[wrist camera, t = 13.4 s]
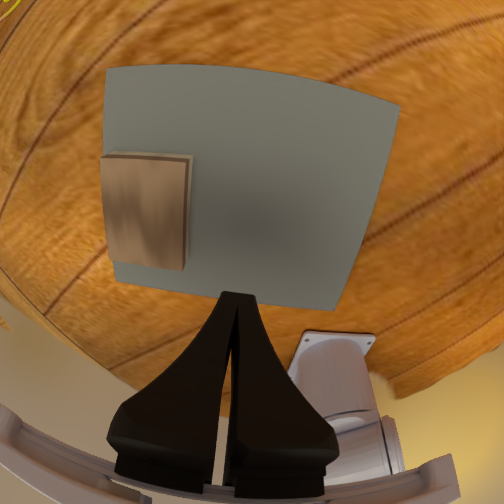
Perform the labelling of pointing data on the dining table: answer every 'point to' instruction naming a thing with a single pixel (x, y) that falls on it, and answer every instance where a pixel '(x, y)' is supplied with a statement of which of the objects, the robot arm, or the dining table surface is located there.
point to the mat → (257, 175)
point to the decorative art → (10, 9)
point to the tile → (147, 207)
